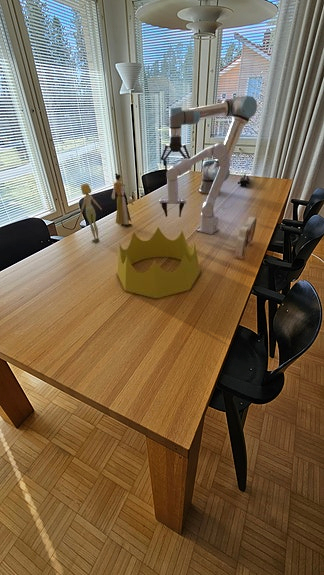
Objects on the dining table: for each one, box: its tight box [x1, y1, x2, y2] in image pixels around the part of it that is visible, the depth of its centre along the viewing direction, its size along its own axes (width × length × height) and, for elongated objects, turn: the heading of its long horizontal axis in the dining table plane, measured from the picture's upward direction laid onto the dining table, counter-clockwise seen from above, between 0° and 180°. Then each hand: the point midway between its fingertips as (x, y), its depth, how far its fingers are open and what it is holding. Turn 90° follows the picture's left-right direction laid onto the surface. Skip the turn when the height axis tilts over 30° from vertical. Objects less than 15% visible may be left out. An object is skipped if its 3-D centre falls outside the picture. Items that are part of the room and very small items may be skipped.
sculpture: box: [79, 183, 103, 243], centre depth 136 cm, size 13×5×30 cm, turn 134°
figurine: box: [110, 173, 134, 228], centre depth 153 cm, size 19×9×30 cm, turn 47°
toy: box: [237, 173, 251, 188], centre depth 230 cm, size 10×5×30 cm
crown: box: [116, 226, 201, 299], centre depth 110 cm, size 36×36×15 cm
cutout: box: [235, 216, 258, 260], centre depth 125 cm, size 15×3×25 cm
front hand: (173, 216), depth 149 cm, fingers open, 7 cm apart
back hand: (175, 171), depth 184 cm, fingers open, 13 cm apart
